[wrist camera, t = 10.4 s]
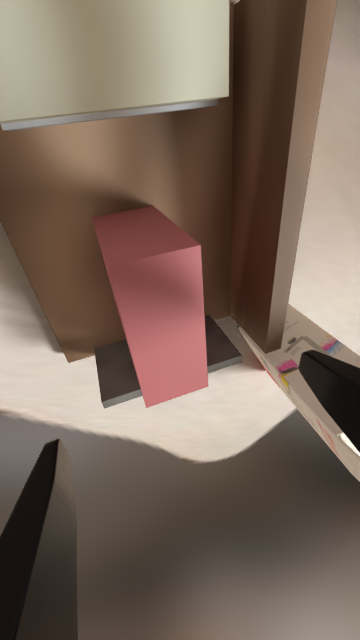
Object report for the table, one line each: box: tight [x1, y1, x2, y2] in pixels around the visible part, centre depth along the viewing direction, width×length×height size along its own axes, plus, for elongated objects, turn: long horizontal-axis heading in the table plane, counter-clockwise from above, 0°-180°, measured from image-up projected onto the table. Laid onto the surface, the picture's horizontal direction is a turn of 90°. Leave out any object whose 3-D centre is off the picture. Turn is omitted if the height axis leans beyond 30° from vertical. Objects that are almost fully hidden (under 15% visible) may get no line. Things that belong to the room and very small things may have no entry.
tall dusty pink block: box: [92, 206, 208, 408], centre depth 15 cm, size 4×8×7 cm, turn 6°
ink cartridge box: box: [238, 304, 360, 482], centre depth 21 cm, size 9×5×15 cm, turn 32°
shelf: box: [0, 0, 337, 408], centre depth 14 cm, size 14×17×6 cm
